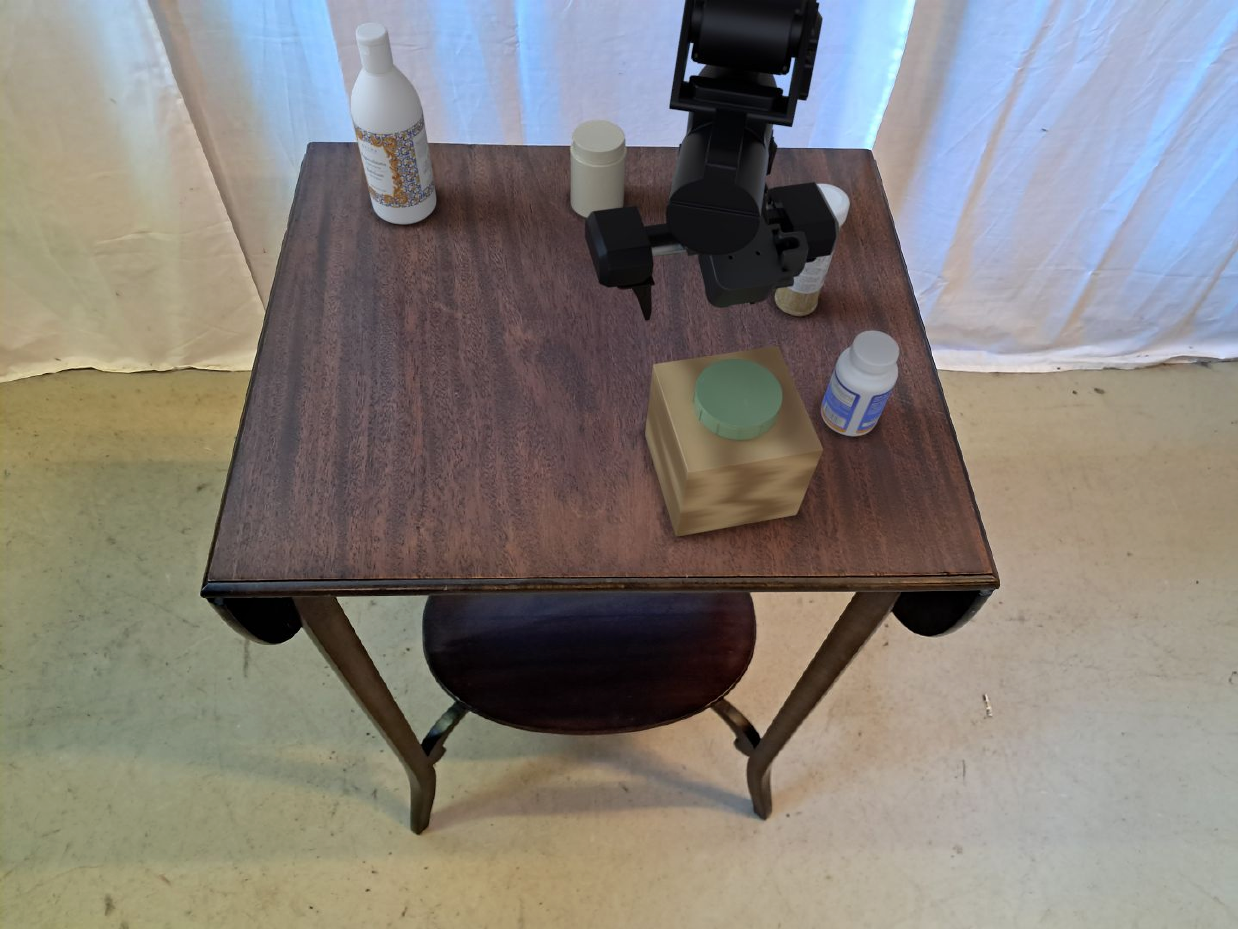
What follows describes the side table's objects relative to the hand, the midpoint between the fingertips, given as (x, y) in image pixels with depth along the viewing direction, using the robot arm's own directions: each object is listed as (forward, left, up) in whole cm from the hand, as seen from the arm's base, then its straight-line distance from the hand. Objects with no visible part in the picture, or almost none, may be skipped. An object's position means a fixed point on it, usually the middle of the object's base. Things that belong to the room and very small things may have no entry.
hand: (698, 308), depth 74 cm
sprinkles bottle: (-15, -10, -12) cm, 21 cm away
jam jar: (+2, -29, -12) cm, 31 cm away
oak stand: (-1, +9, -12) cm, 15 cm away
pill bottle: (-15, +5, -12) cm, 20 cm away
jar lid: (-1, +9, 0) cm, 9 cm away
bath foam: (+23, -32, -12) cm, 41 cm away
